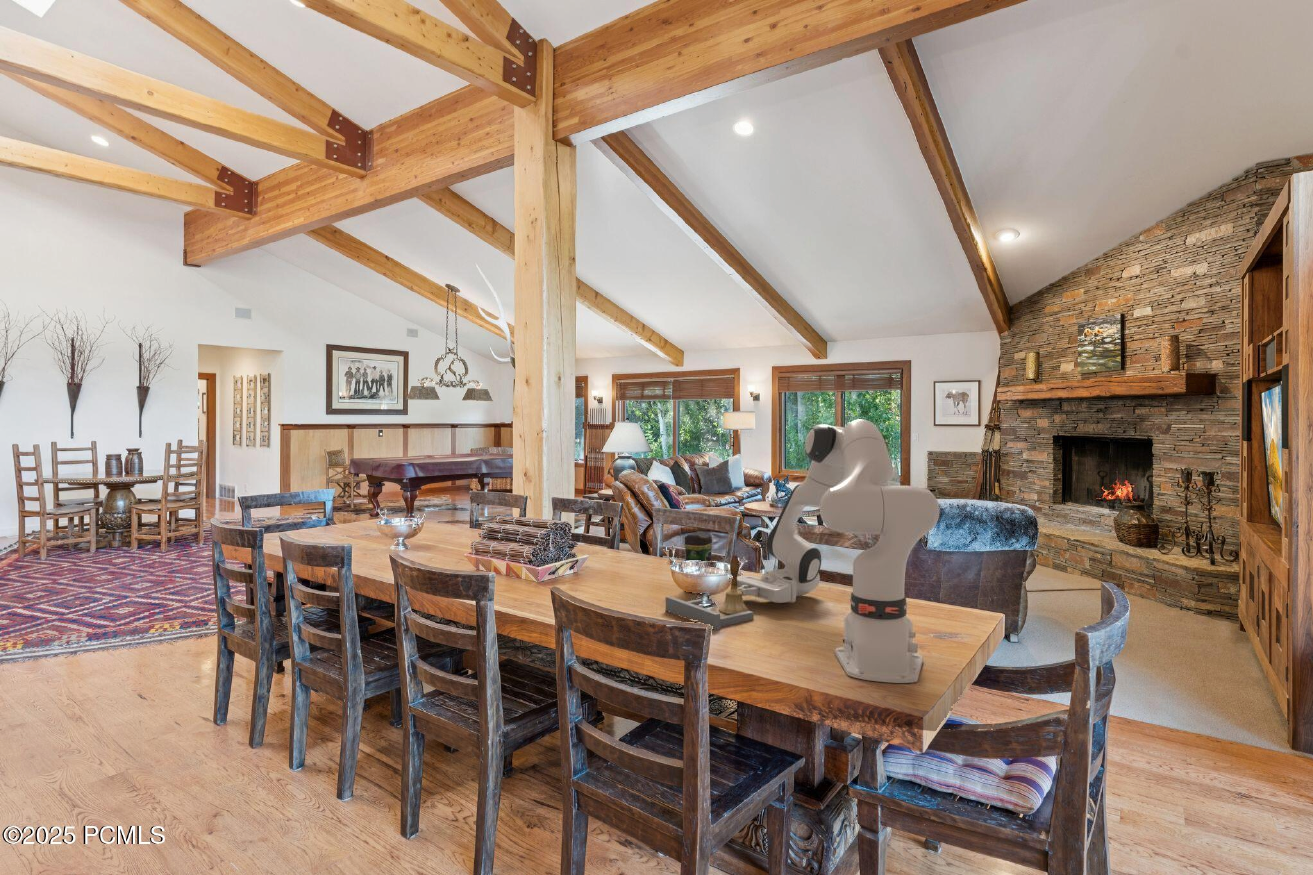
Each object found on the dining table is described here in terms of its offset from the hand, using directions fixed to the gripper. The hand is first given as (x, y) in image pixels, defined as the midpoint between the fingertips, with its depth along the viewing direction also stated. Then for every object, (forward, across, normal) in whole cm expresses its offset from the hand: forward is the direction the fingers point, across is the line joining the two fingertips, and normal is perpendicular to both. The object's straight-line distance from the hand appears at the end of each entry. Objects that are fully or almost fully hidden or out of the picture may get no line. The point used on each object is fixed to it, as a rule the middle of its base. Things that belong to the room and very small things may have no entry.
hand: (739, 592), depth 190 cm
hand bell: (+2, 0, +5) cm, 6 cm away
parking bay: (+11, 0, +5) cm, 12 cm away
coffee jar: (-5, -26, +5) cm, 27 cm away
